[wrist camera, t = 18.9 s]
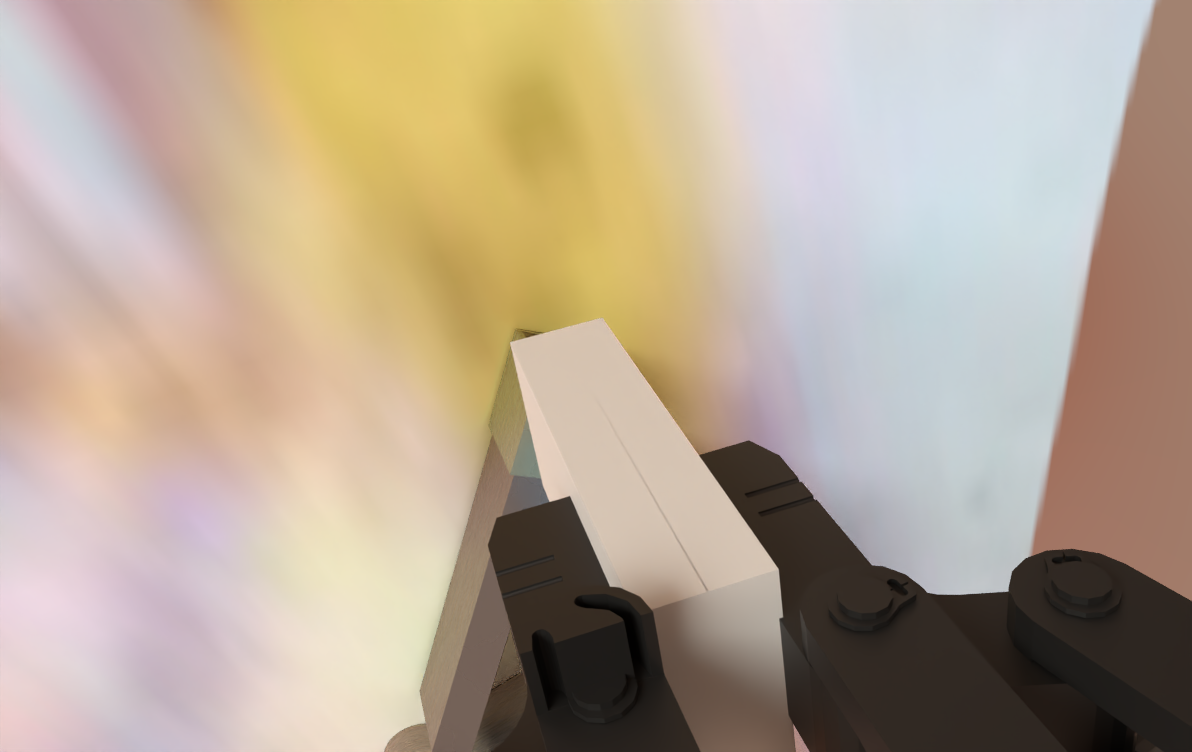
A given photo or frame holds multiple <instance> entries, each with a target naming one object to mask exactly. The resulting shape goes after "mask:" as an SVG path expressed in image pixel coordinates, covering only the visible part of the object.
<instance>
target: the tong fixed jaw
mask: <svg viewBox="0 0 1192 752" xmlns="http://www.w3.org/2000/svg"><path fill="white" fill-rule="evenodd" d="M527 695H528V694H527V686H526V682H525V679H524V675H523V672H521V673H519V674H518V675H516V676H514V677H513V678H511V679H509V680H508V681H506V682H505V683H503V684H501V685H500V686H498V687H496V688H495V689H493V690H491V692H490V695H489V698H488V701H487V704H486V708H485V711H484V714H483V717H482V720H481V724H480V727H479V730H478V733H477V736H476V740H475V743H474V746H473V749H472V752H491V751H493V750H494V749H495V748H496V747H498V746H499V745H500V744H501V743H502V742H504V741H505V739H506V738H507V737H508V736H509V735H510V733H511V732H512V731H513V730H514V729H515V727H516V726H517V724H518V722H519V720H520V718H521V716H522V714H523V712H524V710H525V705H526V700H527ZM384 752H432V751H431V746H430V741H429V736H428V731H427V726H426V724H419V725H414V726H411V727H408V728H406V729H404V730H402V731H400V732H399V733H397V734H396V735H395V736H394V737H393V738H392V739H391V740H390V741H389V742H388V744H387V746H386V748H385V751H384Z"/></svg>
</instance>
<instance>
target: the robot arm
mask: <svg viewBox="0 0 1192 752" xmlns="http://www.w3.org/2000/svg"><path fill="white" fill-rule="evenodd" d="M510 345H511V349H512V353H513V358H514V362H515V366H516V371H517V375H518V379H519V384H520V388H521V392H522V397H523V401H524V405H525V410H526V414H527V419H528V423H529V427H530V432H531V436H532V440H533V445H534V449H535V453H536V458H537V462H538V466H539V471H540V475H541V479H542V484H543V487H544V489H545V492H546V494H547V497H548V499H549V502H548V503H544V504H541V505H538V506H534V507H531V508H527V509H524V510H521V511H517V512H514V513H510V514H507V515H504V516H500V517H497V518H496V521H495V524H494V527H493V530H492V533H491V537H490V540H489V543H488V549H489V552H490V556H491V560H492V563H493V567H494V571H495V574H496V578H497V581H498V585H499V589H500V592H501V596H502V600H503V603H504V607H505V611H506V614H507V618H508V622H509V625H510V629H511V633H512V636H513V640H514V643H515V647H516V650H517V654H518V657H519V661H520V665H521V668H522V672H523V675H524V679H525V682H526V686H527V694H528V695H527V700H526V705H525V710H524V712H523V714H522V716H521V718H520V720H519V722H518V724H517V726H516V727H515V729H514V730H513V731H512V732H511V733H510V735H509V736H508V737H507V738H506V739H505V741H504V742H502V743H501V744H500V745H499V746H498V747H496V748H495V749H494V750H493V751H491V752H796V750H795V739H794V729H793V724H794V726H795V727H796V729H797V731H798V732H799V734H800V736H801V738H802V739H803V741H804V743H805V744H806V746H807V748H808V749H809V751H810V752H1192V601H1190V600H1189V599H1187V598H1185V597H1183V596H1182V595H1180V594H1178V593H1176V592H1174V591H1172V590H1171V589H1169V588H1167V587H1166V586H1164V585H1162V584H1160V583H1158V582H1157V581H1155V580H1153V579H1151V578H1149V577H1148V576H1146V575H1144V574H1142V573H1140V572H1139V571H1137V570H1135V569H1133V568H1132V567H1130V566H1128V565H1126V564H1124V563H1122V562H1119V561H1117V560H1114V559H1112V558H1110V557H1107V556H1105V555H1102V554H1100V553H1094V552H1088V551H1082V550H1075V549H1066V550H1050V551H1044V552H1042V553H1039V554H1036V555H1034V556H1031V557H1028V558H1026V559H1025V560H1023V561H1022V562H1021V563H1020V564H1019V565H1018V566H1017V567H1016V568H1015V569H1014V570H1013V571H1012V575H1011V580H1010V584H1009V592H997V593H982V594H966V595H936V594H930V593H927V592H926V591H925V590H924V589H923V588H922V587H921V586H920V585H918V584H917V583H916V582H915V581H913V580H912V579H911V578H909V577H908V576H907V575H905V574H903V573H900V572H897V571H894V570H891V569H889V568H886V567H883V566H872V565H871V564H870V563H869V561H868V560H867V559H866V558H865V557H864V555H863V554H862V553H861V552H860V551H859V550H858V548H857V547H856V546H855V545H854V544H853V542H852V541H851V540H850V539H849V538H848V536H847V535H846V534H845V533H844V532H843V531H842V529H841V528H840V527H839V526H838V525H837V523H836V522H835V521H834V520H833V519H832V517H831V516H830V515H829V514H828V513H827V512H826V510H825V509H824V508H823V507H822V506H821V504H820V503H819V502H818V501H817V500H814V498H813V495H812V494H811V493H810V491H809V490H808V489H807V488H806V487H805V485H804V484H803V483H802V482H799V480H798V477H797V476H796V475H795V474H794V472H793V471H792V470H791V469H790V468H789V466H788V465H787V464H786V463H785V462H784V460H783V459H782V458H781V457H780V456H779V455H777V454H775V453H773V452H771V451H769V450H767V449H765V448H763V447H761V446H759V445H757V444H755V443H753V442H751V441H746V442H742V443H739V444H736V445H732V446H729V447H725V448H722V449H719V450H715V451H712V452H708V453H705V454H702V455H698V453H697V452H696V451H695V449H694V448H693V446H692V445H691V443H690V442H689V441H688V439H687V438H686V436H685V435H684V433H683V432H682V431H681V429H680V428H679V426H678V425H677V423H676V422H675V421H674V419H673V418H672V416H671V415H670V413H669V412H668V411H667V409H666V408H665V406H664V405H663V403H662V402H661V401H660V399H659V398H658V396H657V395H656V393H655V392H654V391H653V389H652V388H651V386H650V385H649V384H648V382H647V381H646V379H645V378H644V376H643V375H642V374H641V372H640V371H639V369H638V368H637V366H636V365H635V364H634V362H633V361H632V359H631V358H630V356H629V355H628V354H627V352H626V351H625V349H624V348H623V346H622V345H621V344H620V342H619V341H618V339H617V338H616V336H615V335H614V334H613V332H612V331H611V329H610V328H609V326H608V325H607V324H606V322H605V321H604V319H603V318H599V319H595V320H592V321H588V322H584V323H580V324H577V325H573V326H569V327H565V328H562V329H558V330H554V331H550V332H547V333H543V334H539V335H535V336H532V337H528V338H524V339H520V340H517V341H513V342H510Z"/></svg>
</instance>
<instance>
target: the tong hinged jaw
mask: <svg viewBox="0 0 1192 752" xmlns="http://www.w3.org/2000/svg"><path fill="white" fill-rule="evenodd" d="M539 334H543V333H537V332H532V331H526V330H521V329H516V330H515V333H514V337H513V340H512V342H513V341H517V340H520V339H524V338H528V337H532V336H535V335H539ZM489 428H490V430H491V432H492V438H491V442H490V445H489V449H488V452H487V456H486V459H485V463H484V466H483V470H482V473H481V477H480V480H479V484H478V487H477V491H476V494H475V498H474V501H473V505H472V509H471V512H470V516H469V519H468V523H467V526H466V530H465V533H464V537H463V540H462V544H461V547H460V551H459V554H458V558H457V561H456V565H455V568H454V572H453V576H452V579H451V583H450V586H449V590H448V593H447V597H446V600H445V604H444V607H443V611H442V614H441V618H440V621H439V625H438V628H437V632H436V635H435V639H434V643H433V646H432V650H431V653H430V657H429V660H428V664H427V667H426V671H425V674H424V678H423V681H422V685H421V688H420V695H421V700H422V706H423V711H424V716H425V721H426V726H427V731H428V736H429V741H430V746H431V751H432V752H472V749H473V746H474V743H475V740H476V736H477V733H478V730H479V727H480V724H481V720H482V717H483V714H484V711H485V708H486V704H487V701H488V698H489V695H490V692H491V688H492V685H493V682H494V679H495V676H496V673H497V669H498V666H499V663H500V660H501V657H502V653H503V650H504V647H505V644H506V641H507V637H508V634H509V631H510V625H509V622H508V618H507V614H506V611H505V607H504V603H503V600H502V596H501V592H500V589H499V585H498V581H497V578H496V574H495V571H494V567H493V563H492V560H491V556H490V552H489V549H488V543H489V540H490V537H491V533H492V530H493V527H494V524H495V521H496V518H497V517H500V516H504V515H507V514H510V513H514V512H517V511H521V510H524V509H527V508H531V507H534V506H538V505H541V504H544V503H548V502H549V499H548V497H547V494H546V492H545V489H544V487H543V484H542V479H541V475H540V471H539V466H538V462H537V458H536V453H535V449H534V445H533V440H532V436H531V432H530V427H529V423H528V419H527V414H526V410H525V405H524V401H523V397H522V392H521V388H520V384H519V379H518V375H517V371H516V366H515V362H514V358H513V353H512V349H511V347H510V351H509V354H508V358H507V362H506V365H505V369H504V372H503V376H502V379H501V383H500V386H499V390H498V394H497V397H496V401H495V404H494V408H493V411H492V415H491V418H490V422H489Z"/></svg>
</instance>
